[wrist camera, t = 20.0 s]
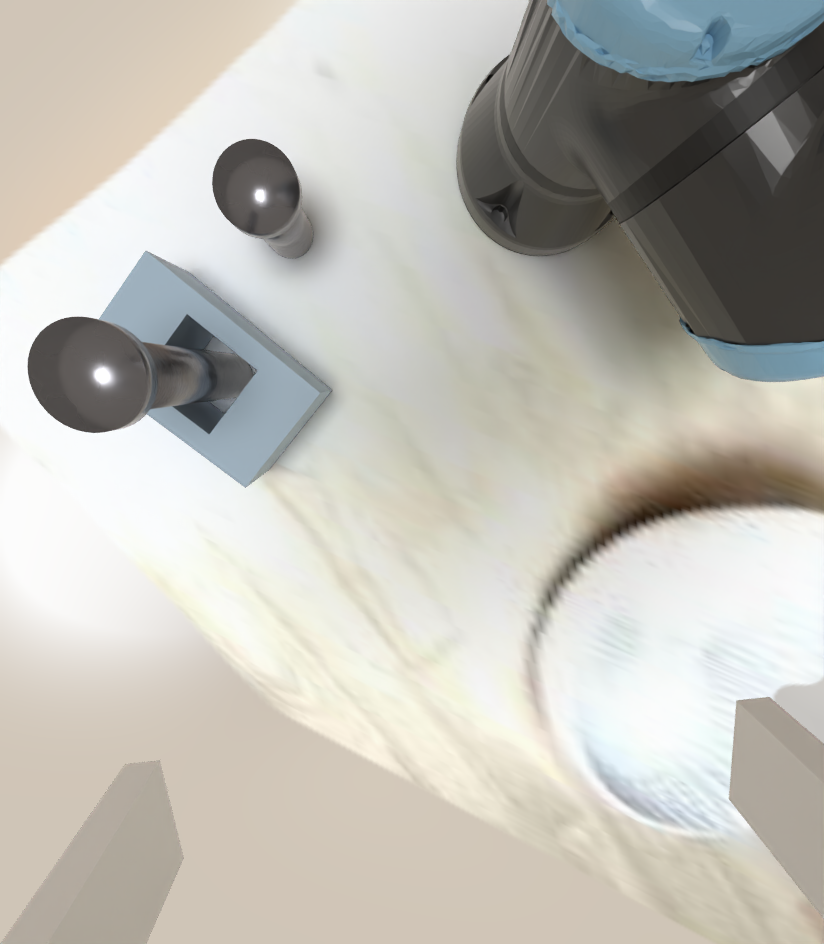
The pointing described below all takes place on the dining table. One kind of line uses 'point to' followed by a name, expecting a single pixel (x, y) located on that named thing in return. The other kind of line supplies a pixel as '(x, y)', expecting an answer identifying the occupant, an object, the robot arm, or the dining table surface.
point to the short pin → (263, 196)
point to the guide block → (206, 315)
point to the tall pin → (122, 374)
